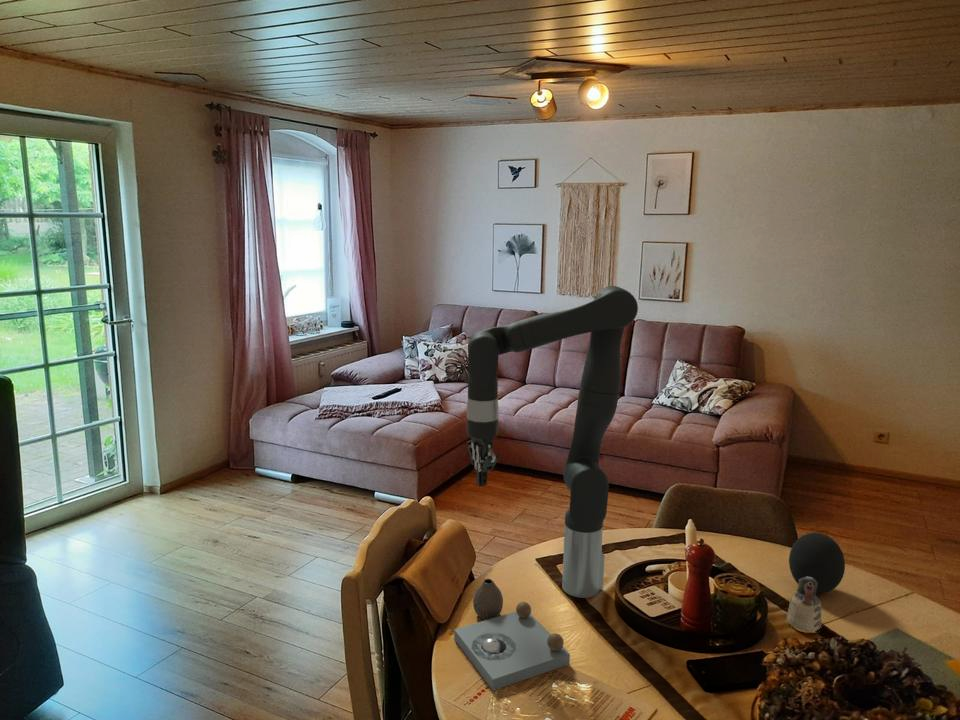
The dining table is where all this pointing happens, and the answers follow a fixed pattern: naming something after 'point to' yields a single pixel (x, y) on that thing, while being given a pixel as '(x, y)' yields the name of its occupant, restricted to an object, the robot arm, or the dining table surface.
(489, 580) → the vase
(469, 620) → the dining table surface
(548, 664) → the hole plate
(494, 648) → the steel ball
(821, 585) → the decorative egg
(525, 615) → the walnut ball
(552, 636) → the walnut ball
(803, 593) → the figurine
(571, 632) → the dining table surface
